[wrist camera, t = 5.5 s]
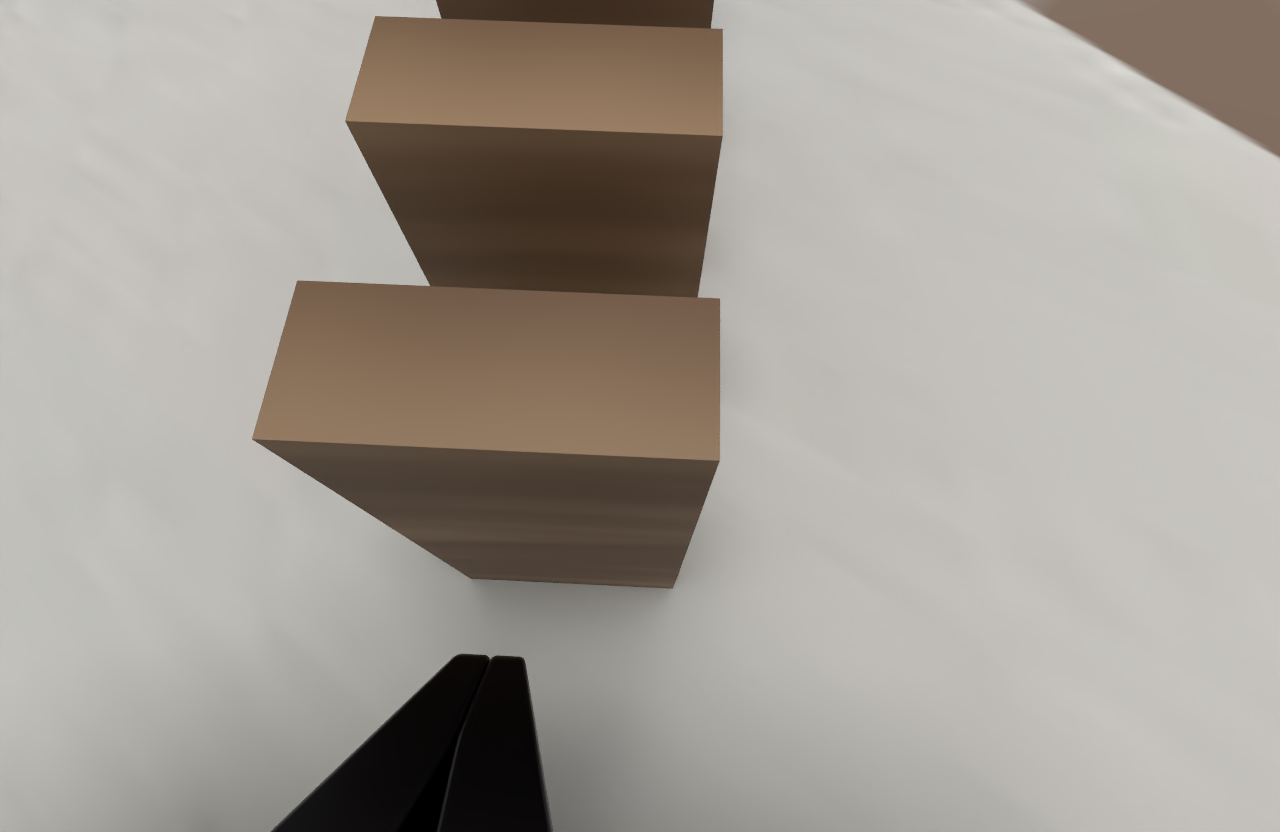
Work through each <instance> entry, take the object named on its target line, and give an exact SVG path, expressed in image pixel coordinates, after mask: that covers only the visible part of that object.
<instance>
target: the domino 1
mask: <svg viewBox="0 0 1280 832" xmlns="http://www.w3.org/2000/svg"><path fill="white" fill-rule="evenodd" d="M436 1H437V5H438V8H439V12H440V15H441V18H442V19H463V20H490V21H517V22H544V23H571V24H598V25H625V26H652V27H679V28H707V29H711V21H712V12H713V3H714V0H436Z"/></svg>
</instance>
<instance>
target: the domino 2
mask: <svg viewBox="0 0 1280 832" xmlns="http://www.w3.org/2000/svg"><path fill="white" fill-rule="evenodd" d="M345 121H346V123H347V125H348V127H349V129H350V131H351V133H352V135H353V137H354V139H355V141H356V143H357V145H358V147H359V149H360V151H361V152H362V154H363V156H364V158H365V160H366V162H367V164H368V166H369V168H370V170H371V172H372V174H373V176H374V178H375V180H376V182H377V183H378V185H379V187H380V189H381V191H382V193H383V195H384V197H385V199H386V201H387V203H388V205H389V207H390V209H391V211H392V213H393V214H394V216H395V218H396V220H397V222H398V224H399V226H400V228H401V230H402V232H403V234H404V236H405V238H406V240H407V242H408V244H409V245H410V247H411V249H412V251H413V253H414V255H415V257H416V259H417V261H418V263H419V265H420V267H421V269H422V271H423V273H424V275H425V276H426V278H427V280H428V282H429V284H430V286H436V287H459V288H483V289H506V290H530V291H553V292H577V293H600V294H624V295H647V296H671V297H694V298H697V297H698V291H699V284H700V278H701V272H702V265H703V259H704V252H705V246H706V239H707V233H708V226H709V220H710V213H711V207H712V200H713V194H714V188H715V181H716V175H717V168H718V162H719V155H720V149H721V142H722V133H723V29H707V28H679V27H652V26H625V25H598V24H571V23H544V22H517V21H490V20H463V19H436V18H409V17H382V16H375V19H374V23H373V26H372V30H371V33H370V37H369V40H368V44H367V47H366V51H365V54H364V58H363V61H362V65H361V68H360V71H359V75H358V78H357V82H356V85H355V89H354V92H353V96H352V99H351V103H350V106H349V110H348V113H347V117H346V120H345Z"/></svg>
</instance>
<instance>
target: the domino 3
mask: <svg viewBox="0 0 1280 832" xmlns="http://www.w3.org/2000/svg"><path fill="white" fill-rule="evenodd" d="M252 439H253V440H254V441H256V442H257V443H259V444H260V445H262V446H264V447H265V448H267V449H268V450H270V451H271V452H273V453H275V454H276V455H278V456H279V457H281V458H282V459H284V460H286V461H287V462H289V463H290V464H292V465H293V466H295V467H297V468H298V469H300V470H301V471H303V472H304V473H306V474H308V475H309V476H311V477H312V478H314V479H315V480H317V481H319V482H320V483H322V484H323V485H325V486H326V487H328V488H330V489H331V490H333V491H334V492H336V493H337V494H339V495H341V496H342V497H344V498H345V499H347V500H348V501H350V502H352V503H353V504H355V505H356V506H358V507H359V508H361V509H363V510H364V511H366V512H367V513H369V514H370V515H372V516H374V517H375V518H377V519H378V520H380V521H381V522H383V523H385V524H386V525H388V526H389V527H391V528H392V529H394V530H396V531H397V532H399V533H400V534H402V535H403V536H405V537H406V538H408V539H410V540H411V541H413V542H414V543H416V544H417V545H419V546H421V547H422V548H424V549H425V550H427V551H428V552H430V553H432V554H433V555H435V556H436V557H438V558H439V559H441V560H443V561H444V562H446V563H447V564H449V565H450V566H452V567H454V568H455V569H457V570H458V571H460V572H461V573H463V574H465V575H466V576H468V577H469V578H472V579H492V580H512V581H533V582H553V583H573V584H594V585H614V586H634V587H655V588H673V587H674V584H675V581H676V579H677V576H678V573H679V570H680V568H681V565H682V562H683V559H684V557H685V554H686V551H687V549H688V546H689V543H690V540H691V538H692V535H693V532H694V529H695V527H696V524H697V521H698V518H699V516H700V513H701V510H702V507H703V505H704V502H705V499H706V497H707V494H708V491H709V488H710V486H711V483H712V480H713V477H714V475H715V472H716V469H717V466H718V464H719V461H720V299H717V298H694V297H671V296H647V295H624V294H600V293H577V292H553V291H530V290H506V289H483V288H459V287H436V286H412V285H389V284H365V283H342V282H318V281H297V284H296V287H295V291H294V294H293V298H292V301H291V305H290V308H289V312H288V315H287V319H286V322H285V326H284V329H283V333H282V336H281V340H280V343H279V347H278V350H277V354H276V357H275V361H274V364H273V368H272V371H271V375H270V378H269V382H268V385H267V388H266V392H265V395H264V399H263V402H262V406H261V409H260V413H259V416H258V420H257V423H256V427H255V430H254V434H253V437H252Z"/></svg>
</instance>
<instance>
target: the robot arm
mask: <svg viewBox="0 0 1280 832" xmlns="http://www.w3.org/2000/svg"><path fill="white" fill-rule="evenodd" d="M271 832H553V828H552V822H551V816H550V809H549V803H548V797H547V791H546V785H545V779H544V773H543V767H542V761H541V755H540V749H539V743H538V736H537V730H536V724H535V718H534V712H533V706H532V700H531V694H530V688H529V682H528V676H527V670H526V664H525V660H524V659H523V658H522V657H514V656H494V657H492V658H491V659H490V658H489V657H488V656H486V655H474V654H459V655H456V656H455V657H453V658H452V659H451V660H450V661H449V662H448V663H447V664H446V665H445V666H444V667H443V668H442V669H440V670H439V671H438V672H437V673H436V674H435V675H434V676H433V677H432V678H431V679H430V680H429V681H428V682H427V683H426V684H425V685H424V686H423V687H422V688H421V689H420V690H418V691H417V692H416V693H415V694H414V695H413V696H412V697H411V698H410V699H409V700H408V701H407V702H406V703H405V704H404V705H403V706H402V707H401V708H400V709H399V710H398V711H396V712H395V713H394V714H393V715H392V716H391V717H390V718H389V719H388V720H387V721H386V722H385V723H384V724H383V725H382V726H381V727H380V728H379V729H378V730H377V731H375V732H374V733H373V734H372V735H371V736H370V737H369V738H368V739H367V740H366V741H365V742H364V743H363V744H362V745H361V746H360V747H359V748H358V749H357V750H356V751H355V752H353V753H352V754H351V755H350V756H349V757H348V758H347V759H346V760H345V761H344V762H343V763H342V764H341V765H340V766H339V767H338V768H337V769H336V770H335V771H334V772H333V773H331V774H330V775H329V776H328V777H327V778H326V779H325V780H324V781H323V782H322V783H321V784H320V785H319V786H318V787H317V788H316V789H315V790H314V791H313V792H312V793H311V794H309V795H308V796H307V797H306V798H305V799H304V800H303V801H302V802H301V803H300V804H299V805H298V806H297V807H296V808H295V809H294V810H293V811H292V812H291V813H290V814H289V815H287V816H286V817H285V818H284V819H283V820H282V821H281V822H280V823H279V824H278V825H277V826H276V827H275V828H274V829H273V830H272V831H271Z"/></svg>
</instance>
